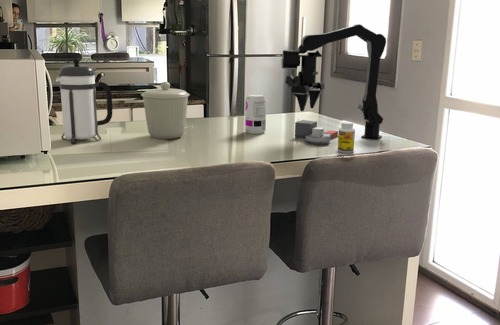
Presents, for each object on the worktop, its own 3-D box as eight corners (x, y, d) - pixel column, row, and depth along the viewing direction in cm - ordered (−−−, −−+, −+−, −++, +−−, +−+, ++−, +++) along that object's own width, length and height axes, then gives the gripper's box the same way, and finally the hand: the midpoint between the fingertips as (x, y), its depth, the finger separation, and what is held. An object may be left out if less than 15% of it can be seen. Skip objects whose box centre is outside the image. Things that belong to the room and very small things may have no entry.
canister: (132, 138, 207) (130, 82, 201) (161, 130, 222) (160, 78, 217) (171, 143, 199) (170, 85, 193) (199, 135, 214) (198, 81, 209)
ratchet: (322, 134, 220) (323, 120, 218) (344, 136, 215) (344, 123, 214) (301, 143, 202) (302, 128, 201) (323, 146, 198) (324, 131, 197)
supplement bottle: (335, 152, 190) (336, 123, 187) (340, 149, 194) (342, 120, 192) (350, 154, 187) (352, 124, 184) (355, 150, 192) (357, 122, 189)
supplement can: (243, 133, 218) (243, 96, 215) (248, 129, 226) (248, 93, 222) (262, 134, 217) (263, 97, 213) (267, 131, 224) (268, 94, 221)
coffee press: (93, 145, 194) (88, 59, 186) (52, 143, 197) (45, 58, 189) (114, 136, 210) (110, 56, 203) (76, 133, 213) (71, 55, 206)
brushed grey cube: (301, 134, 218) (302, 119, 217) (316, 136, 215) (317, 121, 213) (294, 137, 213) (295, 122, 211) (309, 139, 210) (310, 124, 208)
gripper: (299, 66, 219) (298, 105, 223) (278, 69, 203) (277, 111, 207) (325, 67, 214) (323, 107, 217) (305, 71, 198) (304, 113, 202)
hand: (307, 109), depth 211 cm, fingers open, 9 cm apart
